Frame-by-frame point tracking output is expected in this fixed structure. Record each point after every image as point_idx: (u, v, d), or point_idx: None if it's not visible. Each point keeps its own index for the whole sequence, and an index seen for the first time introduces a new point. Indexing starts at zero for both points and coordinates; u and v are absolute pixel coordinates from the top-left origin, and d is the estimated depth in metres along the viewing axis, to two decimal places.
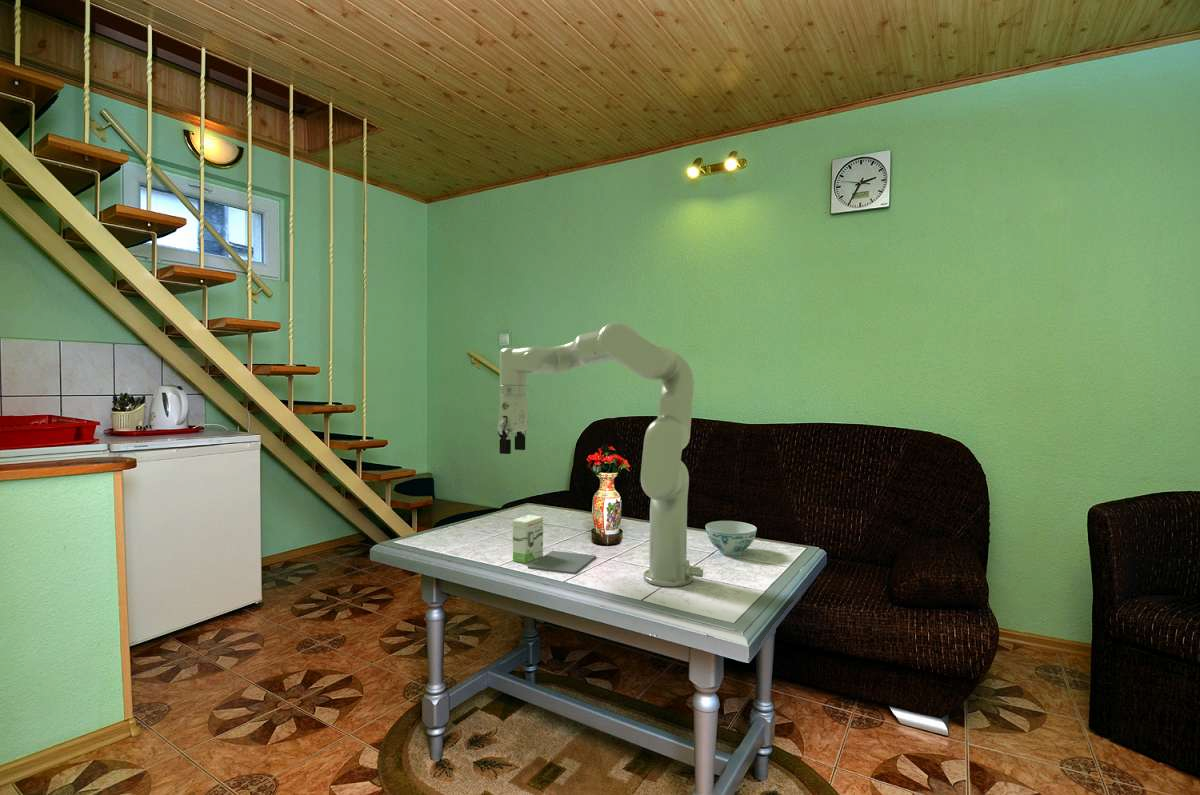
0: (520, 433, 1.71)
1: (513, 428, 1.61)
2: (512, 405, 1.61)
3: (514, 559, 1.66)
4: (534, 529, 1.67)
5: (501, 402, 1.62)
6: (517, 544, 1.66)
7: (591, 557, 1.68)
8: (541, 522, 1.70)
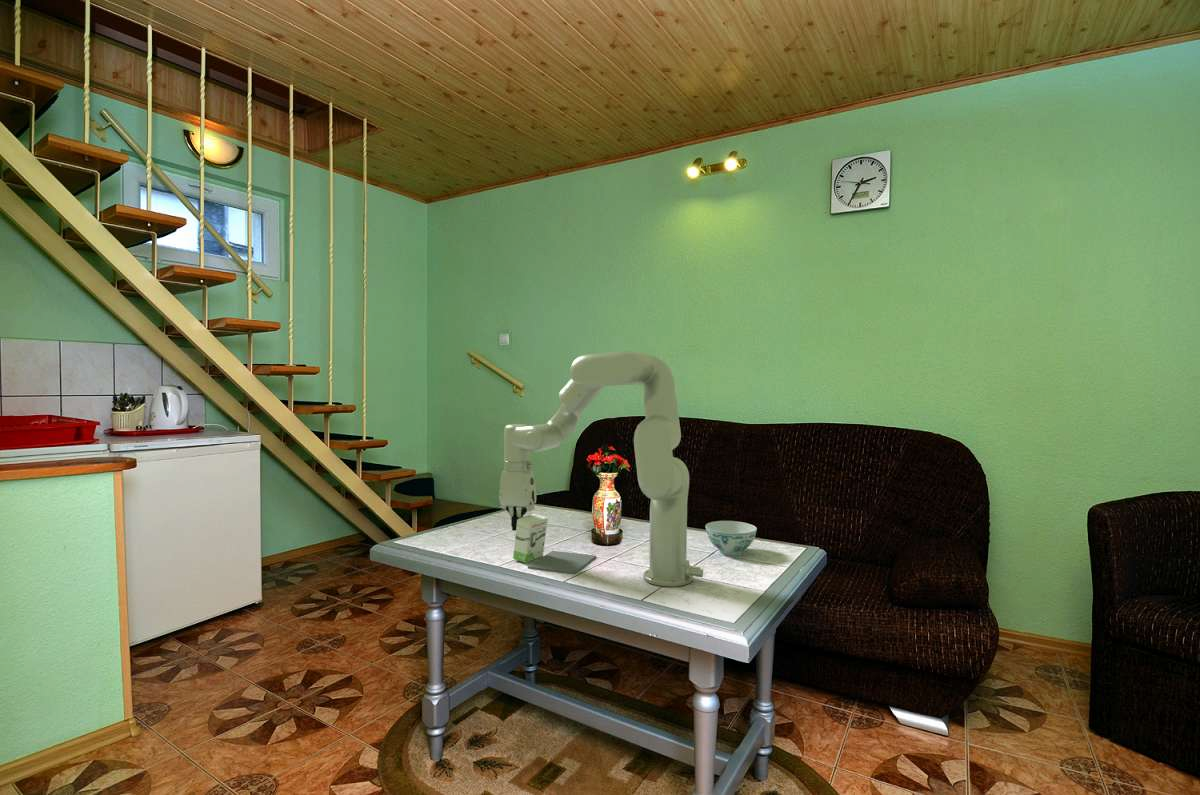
0: (515, 513, 1.70)
1: None
2: (534, 479, 1.70)
3: (514, 557, 1.66)
4: (537, 530, 1.67)
5: (528, 478, 1.67)
6: (519, 543, 1.65)
7: (591, 557, 1.68)
8: (545, 523, 1.70)
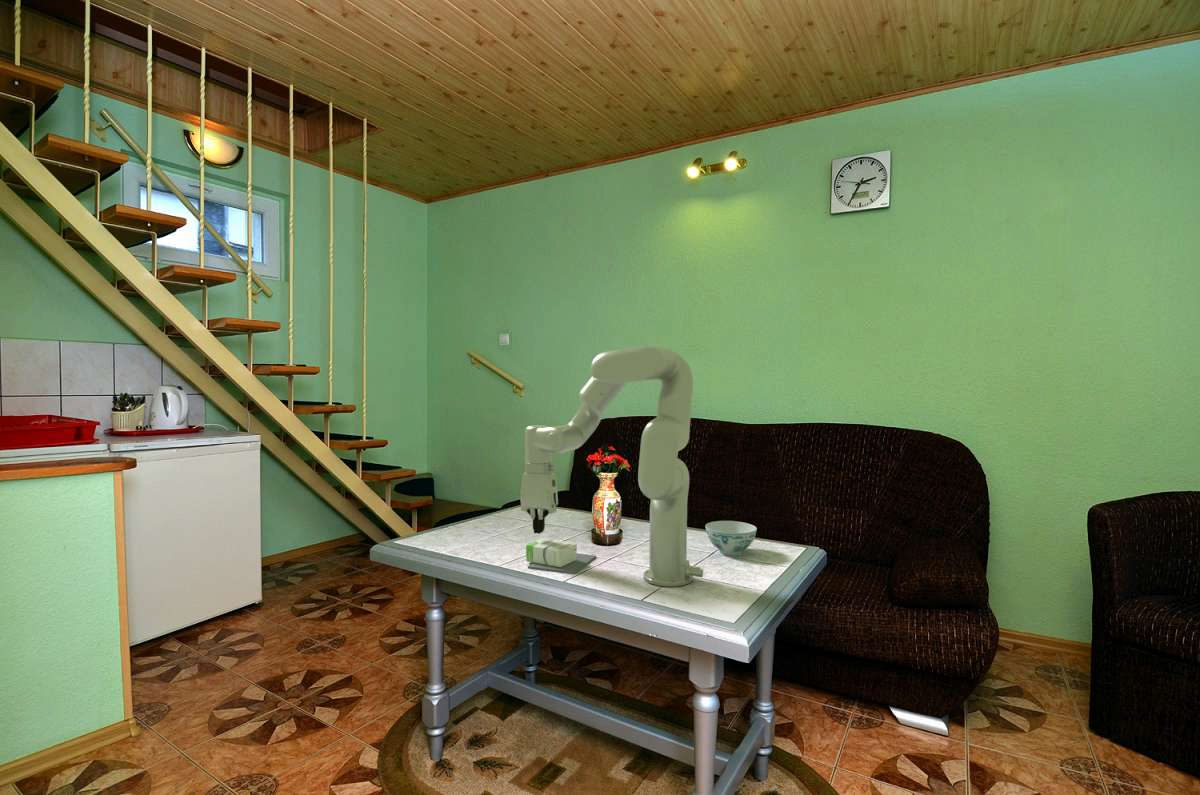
0: (537, 515, 1.68)
1: None
2: (555, 481, 1.68)
3: (527, 547, 1.64)
4: None
5: (550, 480, 1.64)
6: (540, 554, 1.62)
7: (591, 557, 1.68)
8: None
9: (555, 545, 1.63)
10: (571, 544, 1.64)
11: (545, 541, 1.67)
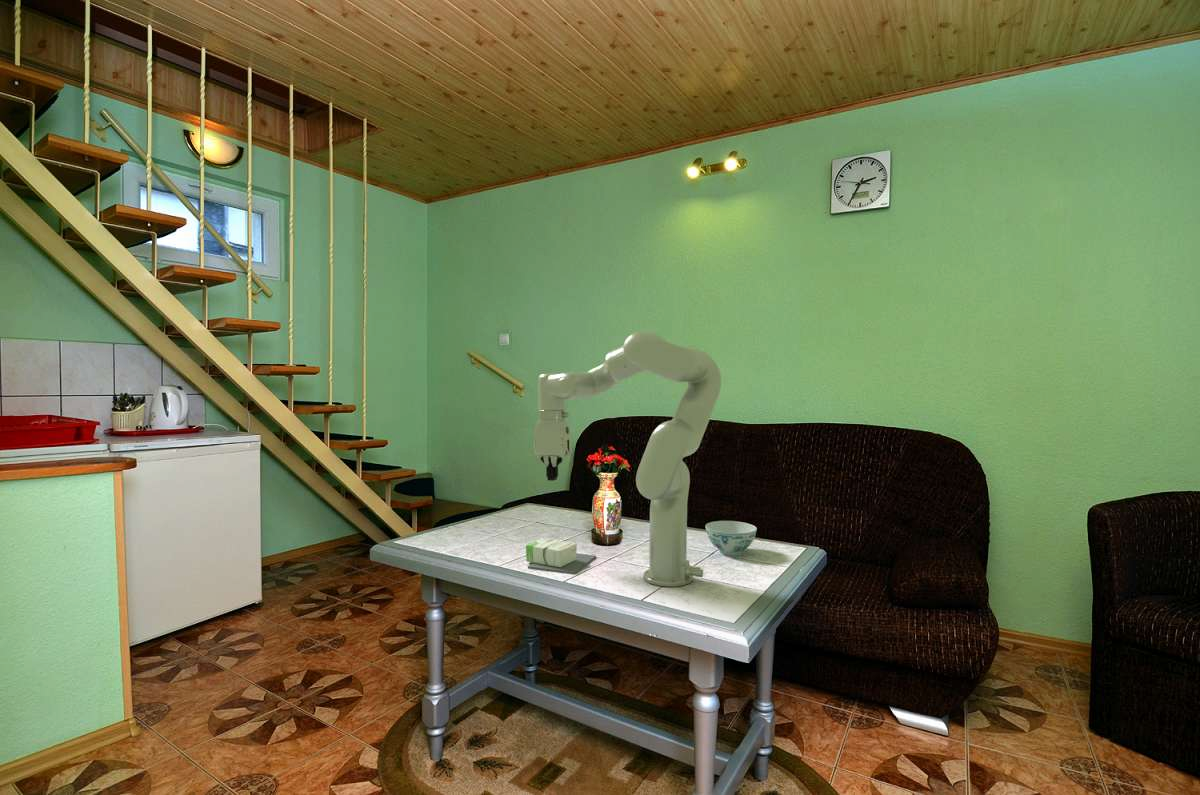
0: (550, 463, 1.69)
1: None
2: None
3: (527, 548, 1.64)
4: None
5: (564, 427, 1.66)
6: (540, 554, 1.62)
7: (591, 557, 1.68)
8: None
9: (555, 545, 1.63)
10: (571, 544, 1.64)
11: (545, 541, 1.67)
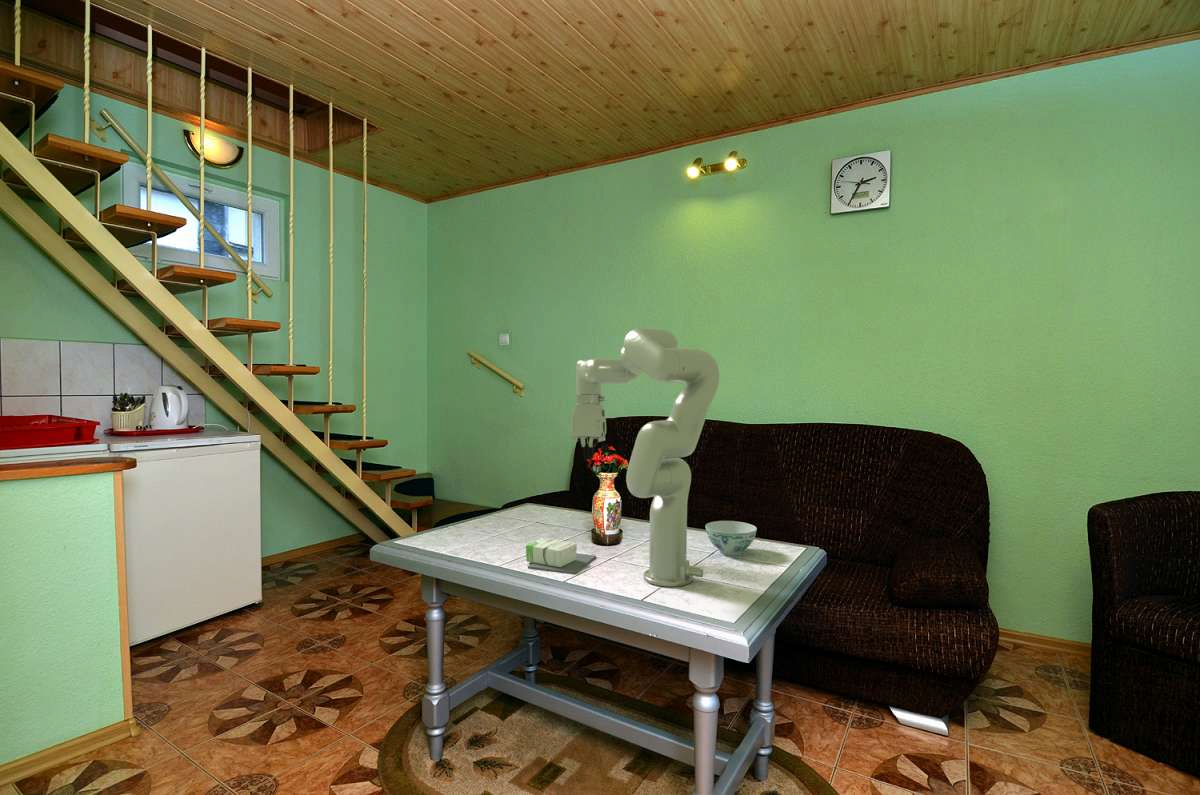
0: (586, 444, 1.80)
1: None
2: (604, 412, 1.80)
3: (527, 548, 1.64)
4: None
5: (600, 410, 1.77)
6: (540, 554, 1.62)
7: (591, 557, 1.68)
8: None
9: (555, 545, 1.63)
10: (571, 544, 1.64)
11: (545, 541, 1.67)
